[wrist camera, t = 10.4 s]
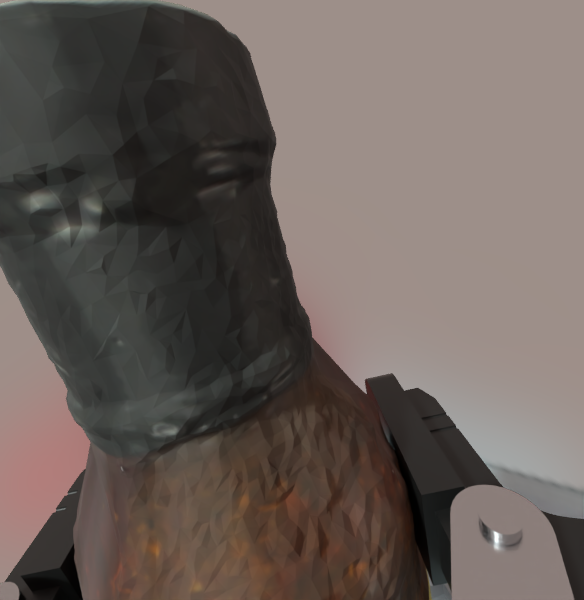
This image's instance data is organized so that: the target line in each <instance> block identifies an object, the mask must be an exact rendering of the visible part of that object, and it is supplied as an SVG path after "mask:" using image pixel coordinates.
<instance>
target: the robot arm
mask: <svg viewBox="0 0 584 600" xmlns="http://www.w3.org/2000/svg"><path fill="white" fill-rule="evenodd" d="M365 385H366V391H367V395H368V396H369V397H370V398H371V400H372V401H373V403H374V405H375V407H376V409H377V411H378V413H379V417H380V422H381V424H382V427H383V430H384V433H385V435H386V438H387V440H388V442H389V443H390V445H391V446H392V448H393V449H394V451H395V453H396V455H397V458H398V461H399V466H400V469H401V472H402V476H403V478H404V480H405V482H406V485H407V487H408V496H409V499H410V502H411V510H412V513H413V522H414V531H415V540H416V543H417V546H418V549H419V551H420V554H421V556H422V559H423V561H424V564H425V567H426V569H427V572H428V574H429V577H430V579H431V582H432V584H433V586H436V585H441V584H446V583H448V585H449V588H450V590H451V592H452V600H584V519H577V518H568V517H562V516H556V515H553V514H549V513H546V512H543V511H540V510H539V509H538V508H537V507H536V506H535V505H534V504H533V503H531V502H530V501H529V500H528V499H526V498H524V497H523V496H521V495H519V494H517V493H515V492H513V491H511V490H508V489H505V488H504V487H503V486H502V485H501V484H500V483H499V482H498V480H497V479H496V478H495V476H494V475H493V474H492V472H491V471H490V470H489V469H488V467H487V466H486V465H485V463H484V462H483V461H482V459H481V458H480V457H479V455H478V454H477V453H476V451H475V450H474V449H473V448H472V446H471V445H470V444H469V442H468V441H467V440H466V438H465V437H464V436H463V435H462V433H461V432H460V431H459V429H457V428H456V426H455V424H454V423H453V421H452V420H451V419H450V417H449V416H447V415H446V412H445V411H444V410H443V408H442V407H441V406H440V404H439V403H438V402H437V400H436V399H435V398H434V397H432V396H430V395H429V394H427V393H425V392H424V391H422V390H420V389H419V388H415V389H410V390H406V391H404V390H403V389H402V387H401V385H400V384H399V382H398V381H397V379H396V377H395V376H394V375H393V374H392V373H391V374H387V375H382V376H378V377H373V378H368V379H366V380H365ZM85 471H86V469H85V470H84V471H83V472H82V473H81V474H80V475H79V477H78V478H77V479H76V481H75V482H74V484H73V485H72V487H71V488H70V489H69V491H68V495H67V496H64V498H63V499H62V501H61V502H60V504H59V505H58V507H57V508H56V512H55V513H53V514H52V515H51V516H50V518H49V519H48V521H47V522H46V524H45V525H44V526H43V528H42V529H41V531H40V532H39V534H38V535H37V536H36V538H35V539H34V541H33V542H32V544H31V545H30V546H29V548H28V549H27V551H26V552H25V553H24V555H23V557H22V558H21V559H20V561H19V562H18V564H17V565H16V566H15V568H14V569H13V571H12V572H11V573H10V575H9V576H8V578H7V579H6V581H5V582H2V583H0V600H83V597H82V592H81V587H80V583H79V578H78V573H77V569H76V564H75V560H74V554H75V549H74V540H73V527H74V525H75V522H76V519H77V508H78V503H79V498H80V493H81V489H82V484H83V480H84V475H85Z"/></svg>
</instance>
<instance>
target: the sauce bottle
mask: <svg viewBox="0 0 584 600" xmlns="http://www.w3.org/2000/svg"><path fill="white" fill-rule="evenodd" d="M275 146H276V137H275V132H274V130H273V127H272V125H271V121H270V117H269V114H268V110H267V109H266V105H265V102H264V99H263V95H262V91H261V88H260V85H259V82H258V79H257V76H256V72H255V69H254V66H253V63H252V60H251V56H250V52H249V51H248V49H247V47H246V46H245V45H244V44H243V43H242V42H241V41H240V39H239V38H238V37H237V36H236V35H235V34H233V33H231V32H229V31H227V30H226V29H225V28H224V27H223V26H222V25H221V24H220V23H219V22H218V21H217V20H215V19H214V18H212V17H210V16H209V15H207V14H205V13H202V12H199V11H196V10H194V9H191V8H187V7H185V6H182V5H178V4H174V3H169V2H164V1H158V0H16V1H11V2H6V3H2V4H0V266H1V268H2V270H3V272H4V274H5V276H6V279H7V281H8V283H9V285H10V286H11V288H12V289H13V291H14V292H15V294H16V295H17V297H18V298H19V300H20V302H21V304H22V307H23V308H24V311H25V313H26V315H27V317H28V319H29V321H30V323H31V325H32V326H33V328H34V330H35V332H36V334H37V335H38V337H39V339H40V341H41V342H42V344H43V346H44V348H45V350H46V352H47V355H48V357H49V359H50V360H51V361H52V362H53V363H54V364H55V367H56V370H57V372H58V373H59V375H60V376H61V378H62V379H63V381H64V383H65V385H66V388H67V390H68V392H67V398H66V400H67V404H68V408H69V410H70V412H71V414H72V416H73V418H74V420H75V421H76V423H77V424H78V425H80V426H81V427H82V428H83V430H84V431H85V433H86V435H87V437H88V438H89V440H90V442H91V444H90V449H89V454H88V460H87V465H86V471H85V475H84V480H83V484H82V489H81V493H80V498H79V503H78V508H77V519H76V522H75V525H74V527H73V540H74V549H75V554H74V560H75V564H76V569H77V573H78V578H79V583H80V587H81V592H82V597H83V600H432V597H431V591H430V584H429V578H428V573H427V569H426V567H425V564H424V561H423V559H422V556H421V554H420V551H419V549H418V546H417V543H416V540H415V531H414V522H413V513H412V510H411V502H410V499H409V496H408V487H407V485H406V482H405V480H404V478H403V476H402V472H401V469H400V466H399V461H398V458H397V455H396V453H395V451H394V449H393V448H392V446H391V445H390V443H389V442H388V440H387V438H386V435H385V433H384V430H383V427H382V424H381V422H380V417H379V413H378V411H377V409H376V407H375V405H374V403H373V401H372V400H371V398H370V397H369V396H368V395H367V394H365V393H364V392H363V391H362V390H361V389H360V388H359V387H358V386H357V385H355V383H353V381H351V379H350V378H349V377H348V376H347V375H346V374H345V373H344V372H343V370H341V368H340V367H339V366H338V365H337V364H336V363H335V362H334V361H333V359H331V357H330V356H329V355H328V354H327V353H326V352H325V351H324V350H323V349H322V348H321V346H320V345H319V344H318V343H317V342H316V341H315V340H314V339H313V338H312V332H311V326H310V320H309V317H308V315H307V314H306V312H305V309H304V308H303V307H302V306H301V304H300V302H299V299H298V297H297V293H296V286H295V283H294V279H293V275H292V269H291V265H290V263H289V260H288V258H287V254H286V245H285V243H284V241H283V237H282V233H281V230H280V226H279V222H278V219H277V210H276V207H275V204H274V201H273V198H272V195H271V187H270V179H271V165H272V158H273V154H274V150H275Z"/></svg>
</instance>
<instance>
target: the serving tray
mask: <svg viewBox="0 0 584 600" xmlns="http://www.w3.org/2000/svg"><path fill="white" fill-rule="evenodd" d="M427 573H428V572H427ZM428 578H429V584H430V591H431V597H432V600H452V592H451V590H450V588H449V585H448V583H446V584H441V585H436V586H433V584H432V582H431V579H430V577H429V574H428Z"/></svg>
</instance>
